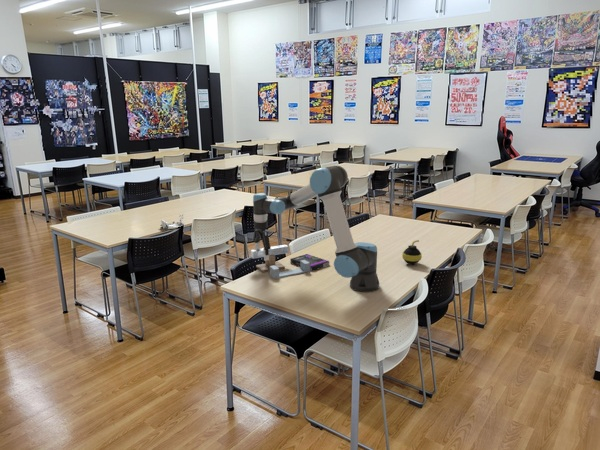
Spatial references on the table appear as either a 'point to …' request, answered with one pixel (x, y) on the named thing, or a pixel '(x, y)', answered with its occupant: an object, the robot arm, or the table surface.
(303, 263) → the rack
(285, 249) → the bar
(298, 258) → the box
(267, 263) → the stand
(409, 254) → the bomb
